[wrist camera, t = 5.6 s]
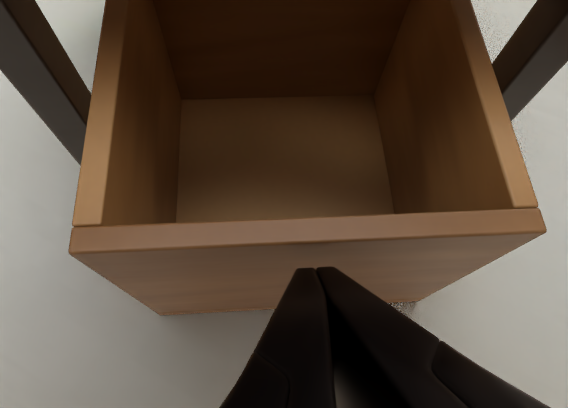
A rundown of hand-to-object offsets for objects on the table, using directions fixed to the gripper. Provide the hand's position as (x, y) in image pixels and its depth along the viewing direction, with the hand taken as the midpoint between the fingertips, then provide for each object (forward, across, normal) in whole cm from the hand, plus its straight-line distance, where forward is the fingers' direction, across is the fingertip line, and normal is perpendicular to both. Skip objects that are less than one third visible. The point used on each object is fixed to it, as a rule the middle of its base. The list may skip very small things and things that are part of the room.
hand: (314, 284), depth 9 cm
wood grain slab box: (+9, 0, +1) cm, 9 cm away
